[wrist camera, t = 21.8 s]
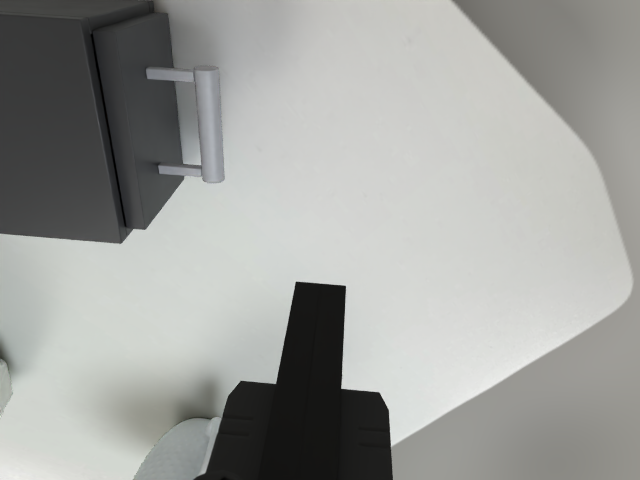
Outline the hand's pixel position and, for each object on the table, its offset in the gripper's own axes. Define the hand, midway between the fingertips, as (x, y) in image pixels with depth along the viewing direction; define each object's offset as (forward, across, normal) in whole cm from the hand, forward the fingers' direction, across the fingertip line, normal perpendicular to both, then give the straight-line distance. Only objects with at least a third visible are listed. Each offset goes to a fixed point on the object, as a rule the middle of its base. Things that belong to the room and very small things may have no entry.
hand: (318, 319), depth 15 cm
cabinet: (+22, -20, 0) cm, 30 cm away
